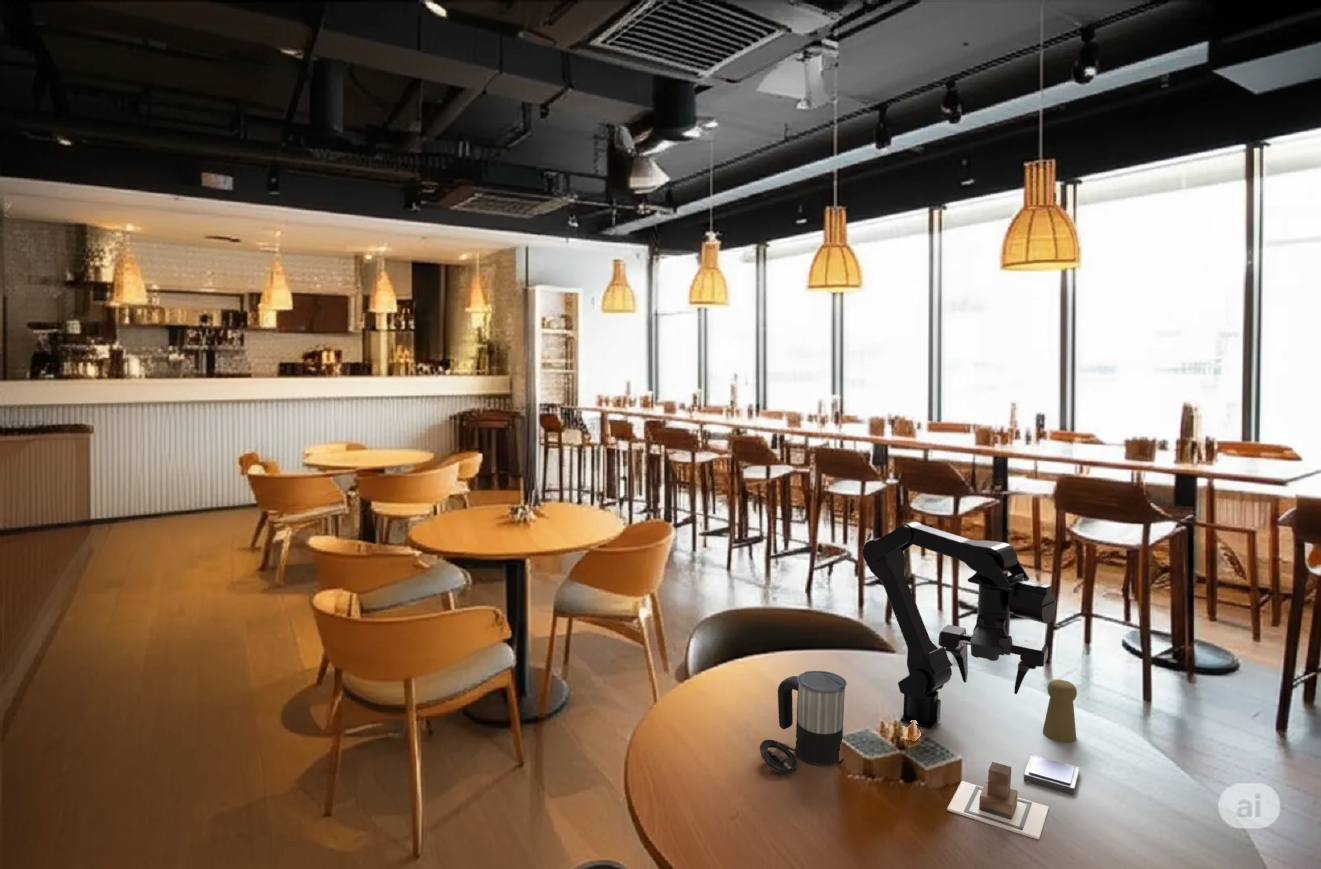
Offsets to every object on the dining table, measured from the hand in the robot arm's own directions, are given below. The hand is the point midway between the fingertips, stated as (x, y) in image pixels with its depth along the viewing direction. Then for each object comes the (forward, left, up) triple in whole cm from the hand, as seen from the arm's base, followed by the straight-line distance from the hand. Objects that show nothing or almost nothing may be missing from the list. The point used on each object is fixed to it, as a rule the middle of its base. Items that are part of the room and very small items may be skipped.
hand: (990, 687), depth 150 cm
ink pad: (+12, -5, -12) cm, 18 cm away
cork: (+11, +13, -12) cm, 21 cm away
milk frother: (-28, -24, -12) cm, 39 cm away
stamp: (+6, -21, -12) cm, 25 cm away
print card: (+6, -21, -12) cm, 25 cm away
